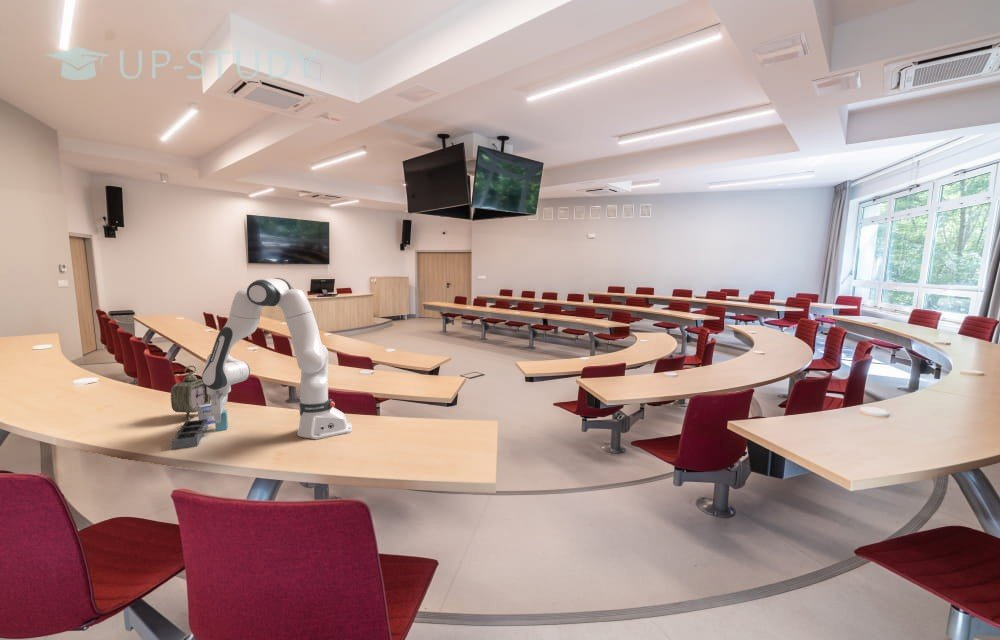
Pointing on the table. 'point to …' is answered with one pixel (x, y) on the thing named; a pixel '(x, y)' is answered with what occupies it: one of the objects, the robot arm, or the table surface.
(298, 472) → the table surface
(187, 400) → the tabletop clock
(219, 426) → the clip
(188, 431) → the grey rectangular piece
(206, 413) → the medicine box
